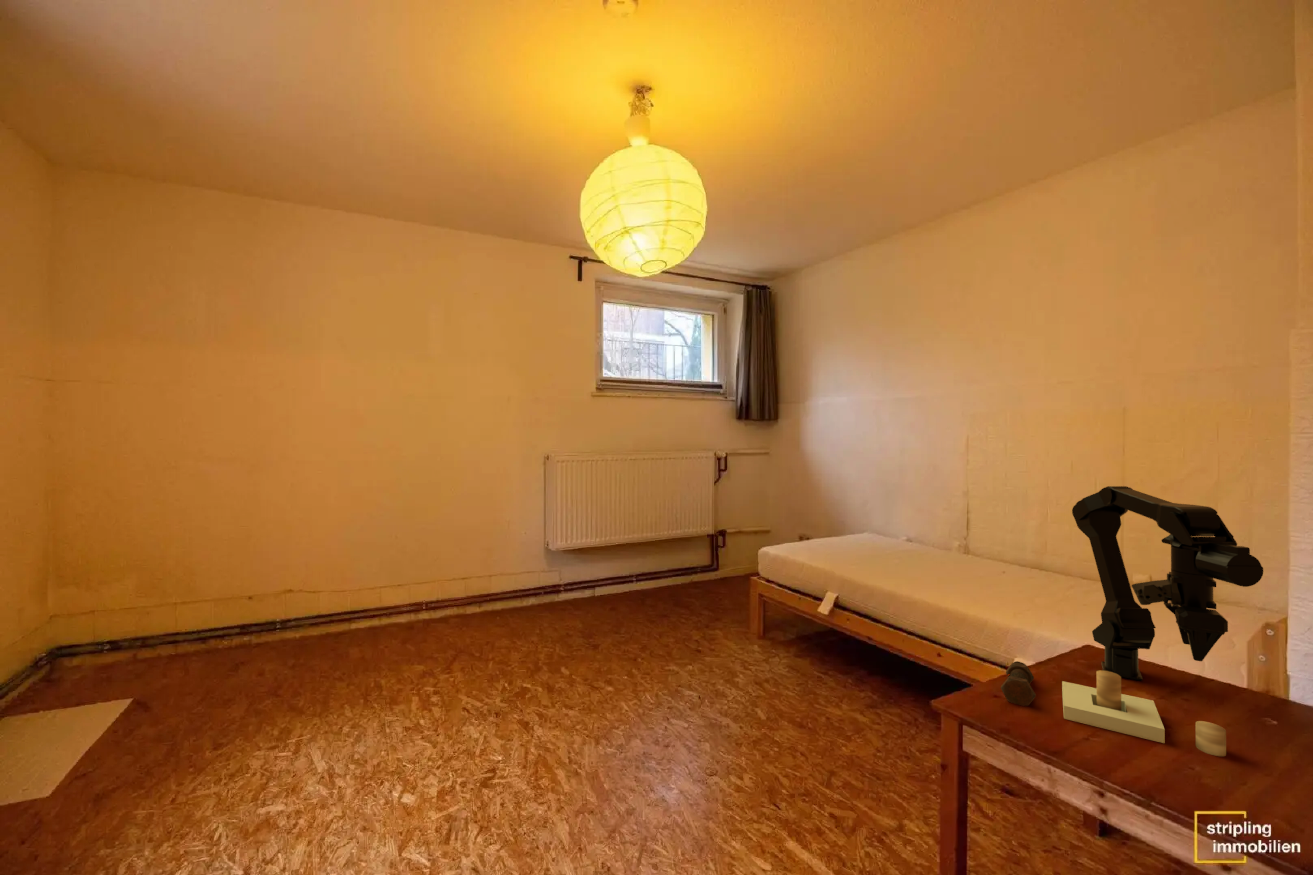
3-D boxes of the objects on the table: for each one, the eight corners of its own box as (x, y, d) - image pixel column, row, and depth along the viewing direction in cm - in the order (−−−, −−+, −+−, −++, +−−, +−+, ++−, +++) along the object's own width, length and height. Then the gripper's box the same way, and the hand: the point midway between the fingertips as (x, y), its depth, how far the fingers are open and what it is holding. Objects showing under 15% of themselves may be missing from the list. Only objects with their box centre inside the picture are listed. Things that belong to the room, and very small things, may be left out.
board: (1062, 692, 110) (1062, 680, 110) (1153, 713, 102) (1153, 700, 102) (1063, 718, 101) (1063, 705, 101) (1164, 743, 92) (1164, 729, 92)
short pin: (1193, 741, 93) (1193, 718, 93) (1223, 748, 91) (1222, 725, 91) (1198, 751, 90) (1198, 728, 90) (1228, 758, 88) (1228, 735, 88)
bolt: (1024, 685, 118) (1022, 712, 105) (1001, 669, 120) (996, 693, 108) (1040, 666, 116) (1040, 691, 104) (1016, 650, 119) (1013, 672, 106)
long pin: (1120, 714, 102) (1120, 673, 102) (1122, 723, 99) (1122, 680, 99) (1096, 708, 104) (1095, 668, 104) (1097, 717, 101) (1097, 675, 101)
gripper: (1129, 556, 114) (1129, 628, 114) (1142, 576, 98) (1142, 659, 99) (1202, 563, 107) (1203, 639, 107) (1228, 585, 92) (1229, 674, 92)
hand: (1192, 651), depth 101 cm, fingers open, 9 cm apart
